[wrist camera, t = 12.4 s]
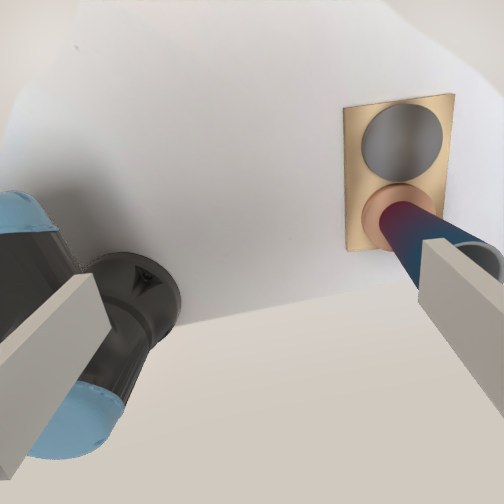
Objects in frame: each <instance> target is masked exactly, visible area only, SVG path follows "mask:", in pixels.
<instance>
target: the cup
mask: <svg viewBox="0 0 504 504" xmlns="http://www.w3.org/2000/svg"><path fill="white" fill-rule="evenodd" d="M379 228H380V230H381V232H382V234H383V236H384V237H385V239H386V240H387V242H388V243H389V245H390V246H391V248H392V250H393V251H394V253H395V254H396V256H397V257H398V259H399V260H400V262H401V264H402V265H403V267H404V268H405V270H406V271H407V273H408V274H409V276H410V278H411V279H412V281H413V282H414V284H415V285H416V287H417V289H418V290H419V281H420V269H421V256H422V244H423V240H428V239H438V238H445V239H446V240H447V241H448V242H450V243H451V244H452V245H453V246H455V247H456V248H457V249H458V250H460V251H461V252H462V253H464V254H465V255H466V256H467V257H469V258H470V259H471V260H472V261H474V262H475V263H476V264H477V265H479V266H480V267H481V268H482V269H484V270H485V271H486V272H487V273H489V274H490V275H491V276H492V277H494V278H495V279H496V280H497V281H499V282H500V283H501V284H502V285H503V283H504V257H503V256H502V254H501V253H500V251H498V250H497V249H496V248H495V247H493V246H491V245H490V244H488V243H486V242H484V241H482V240H480V239H478V238H476V237H475V236H473V235H471V234H469V233H467V232H465V231H463V230H461V229H460V228H458V227H456V226H454V225H452V224H450V223H448V222H446V221H445V220H443V219H441V218H439V217H437V216H435V215H433V214H432V213H430V212H428V211H426V210H424V209H422V208H420V207H418V206H417V205H415V204H413V203H411V202H408V201H398V202H395V203H393V204H391V205H389V206H388V207H387V208H386V209H385V210H384V211H383V212H382V214H381V216H380V219H379Z"/></svg>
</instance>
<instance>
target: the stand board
mask: <svg viewBox="0 0 504 504" xmlns="http://www.w3.org/2000/svg"><path fill="white" fill-rule="evenodd" d="M454 101H455V94H445V95H438V96H430V97H423V98H415V99H408V100H401V101H393V102H386V103H378V104H371V105H364V106H356V107H349V108H343V113H344V166H345V219H346V250H347V252H352V251H362V250H372V249H383V250H386V251H392V252H394V251H393V250H392V248H391V246H390V245H389V243H388V242H387V240H386V239H385V237H384V236H383V234H382V232H381V230H380V228H379V219H380V216H381V214H382V212H383V211H384V210H385V209H386V208H387V207H388V206H389V205H391V204H393V203H395V202H398V201H408V202H411V203H413V204H415V205H417V206H418V207H420V208H422V209H424V210H426V211H428V212H430V213H432V214H433V215H435V216H437V217H439V218H441V219H443V209H444V199H445V189H446V179H447V169H448V160H449V150H450V140H451V130H452V120H453V110H454Z"/></svg>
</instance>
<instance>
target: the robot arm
mask: <svg viewBox="0 0 504 504" xmlns="http://www.w3.org/2000/svg"><path fill="white" fill-rule="evenodd" d="M58 231H60V230H59V228H58V227H57V226H55V225H54V224H53V223H52V221H51V220H50V218H49V217H48V216H47V214H46V213H45V211H44V210H43V208H42V207H41V205H40V204H39V202H38V201H37V200H36V199H35V198H34V197H33V196H31V195H29V194H27V193H25V192H21V191H7V192H1V193H0V480H10V479H11V478H12V476H13V475H14V473H15V472H16V470H17V469H18V467H19V466H20V464H21V463H22V462H23V460H24V459H25V457H26V455H27V456H32V457H36V458H42V459H52V460H53V459H54V460H56V459H57V460H60V459H70V458H76V457H80V456H83V455H86V454H88V453H90V452H92V451H94V450H95V449H97V448H98V447H100V446H101V445H102V444H103V443H104V442H105V441H106V439H107V438H108V437H109V435H110V433H111V432H112V429H113V428H114V426H115V424H116V422H117V420H118V419H119V418H120V417H121V416H122V414H123V412H124V409H125V406H126V404H127V401H128V399H129V397H130V394H131V392H132V390H133V388H134V385H135V383H136V381H137V378H138V376H139V374H140V371H141V369H142V367H143V364H144V362H145V360H146V357H147V355H148V353H149V351H150V350H151V349H152V348H153V347H154V346H155V345H156V344H157V343H158V342H160V341H161V340H162V339H163V338H165V337H166V336H167V335H168V334H169V333H170V331H171V330H172V328H173V327H174V325H175V323H176V320H177V318H178V315H179V312H180V307H181V299H180V294H179V290H178V288H177V285H176V283H175V282H174V280H173V279H172V277H171V276H170V275H169V273H168V272H167V271H166V270H165V269H164V268H162V267H161V266H160V265H159V264H157V263H156V262H154V261H152V260H150V259H148V258H146V257H143V256H140V255H137V254H132V253H112V254H108V255H105V256H102V257H100V258H98V259H97V260H95V261H94V262H92V263H91V264H90V265H89V266H88V267H87V268H86V269H85V270H84V271H83V272H82V271H81V270H80V268H79V266H78V265H77V263H76V261H75V260H74V258H73V256H72V254H71V253H70V251H69V249H68V247H67V246H66V244H65V242H64V240H63V239H62V237H61V235H60V233H59V232H58ZM418 303H419V304H420V305H421V307H422V308H423V310H424V311H425V312H426V314H427V315H428V316H429V318H430V319H431V320H432V322H433V323H434V324H435V326H436V327H437V328H438V330H439V331H440V333H441V334H442V335H443V337H444V338H445V339H446V341H447V342H448V343H449V345H450V346H451V347H452V349H453V350H454V351H455V353H456V354H457V355H458V357H459V358H460V360H461V361H462V362H463V364H464V365H465V366H466V368H467V369H468V370H469V372H470V373H471V375H472V376H473V377H474V379H475V380H476V381H477V383H478V384H479V385H480V387H481V388H482V389H483V391H484V392H485V393H486V395H487V396H488V398H489V399H490V400H491V401H492V403H493V404H494V406H495V407H496V408H497V410H498V411H499V412H500V414H501V415H502V416H503V418H504V285H502V284H501V283H500V282H499V281H497V280H496V279H495V278H494V277H492V276H491V275H490V274H489V273H487V272H486V271H485V270H484V269H482V268H481V267H480V266H479V265H477V264H476V263H475V262H474V261H472V260H471V259H470V258H469V257H467V256H466V255H465V254H464V253H462V252H461V251H460V250H458V249H457V248H456V247H455V246H453V245H452V244H451V243H450V242H448V241H447V240H446V239H445V238H438V239H428V240H423V244H422V256H421V269H420V281H419V294H418Z"/></svg>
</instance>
